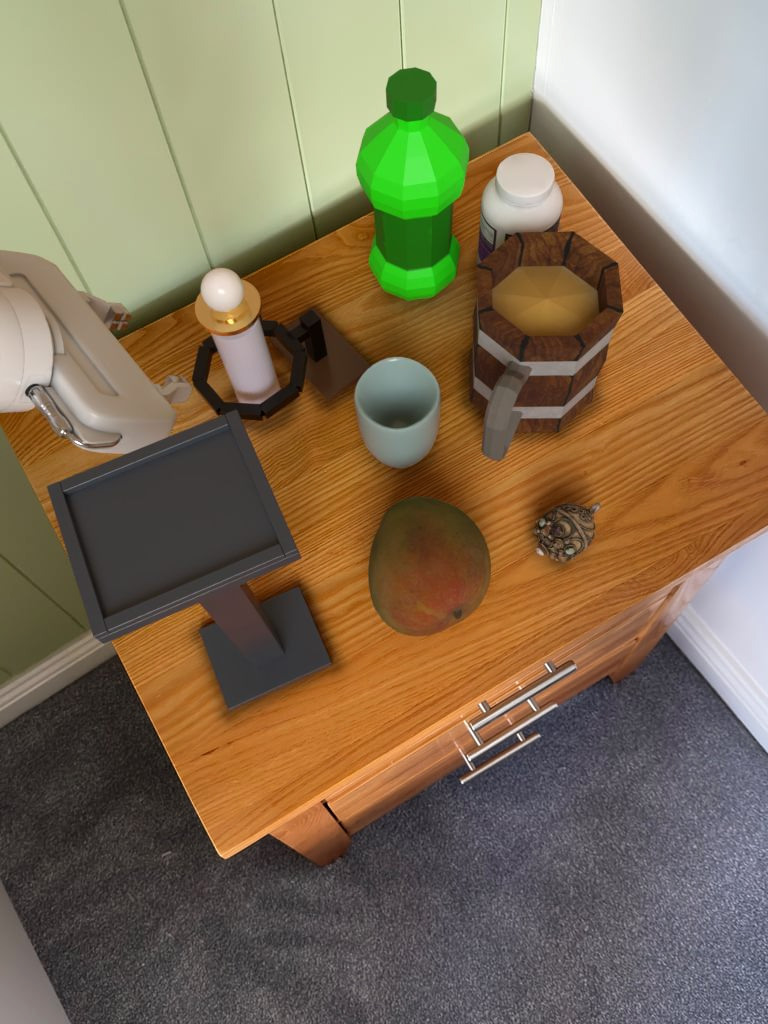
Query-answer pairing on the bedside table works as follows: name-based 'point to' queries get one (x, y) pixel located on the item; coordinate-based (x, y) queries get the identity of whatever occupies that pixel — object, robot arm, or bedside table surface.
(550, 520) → the pendant
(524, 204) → the pill bottle
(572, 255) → the mug
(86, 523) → the pedestal tray stand
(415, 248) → the plastic bottle
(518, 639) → the bedside table surface
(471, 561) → the fruit
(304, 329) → the ring stand
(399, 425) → the cup
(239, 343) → the perfume bottle
